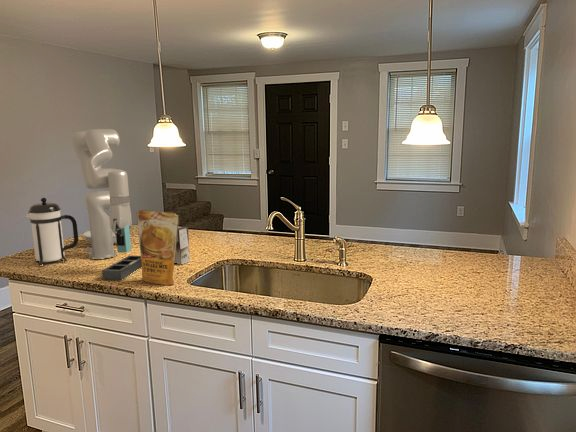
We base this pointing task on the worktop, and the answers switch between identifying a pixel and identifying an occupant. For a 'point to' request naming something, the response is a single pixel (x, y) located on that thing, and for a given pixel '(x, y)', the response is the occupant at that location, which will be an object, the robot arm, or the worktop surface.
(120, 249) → the peg
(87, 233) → the soup bowl
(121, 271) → the rail
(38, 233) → the coffee press
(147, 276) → the pancake mix bag
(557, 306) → the worktop surface
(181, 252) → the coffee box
